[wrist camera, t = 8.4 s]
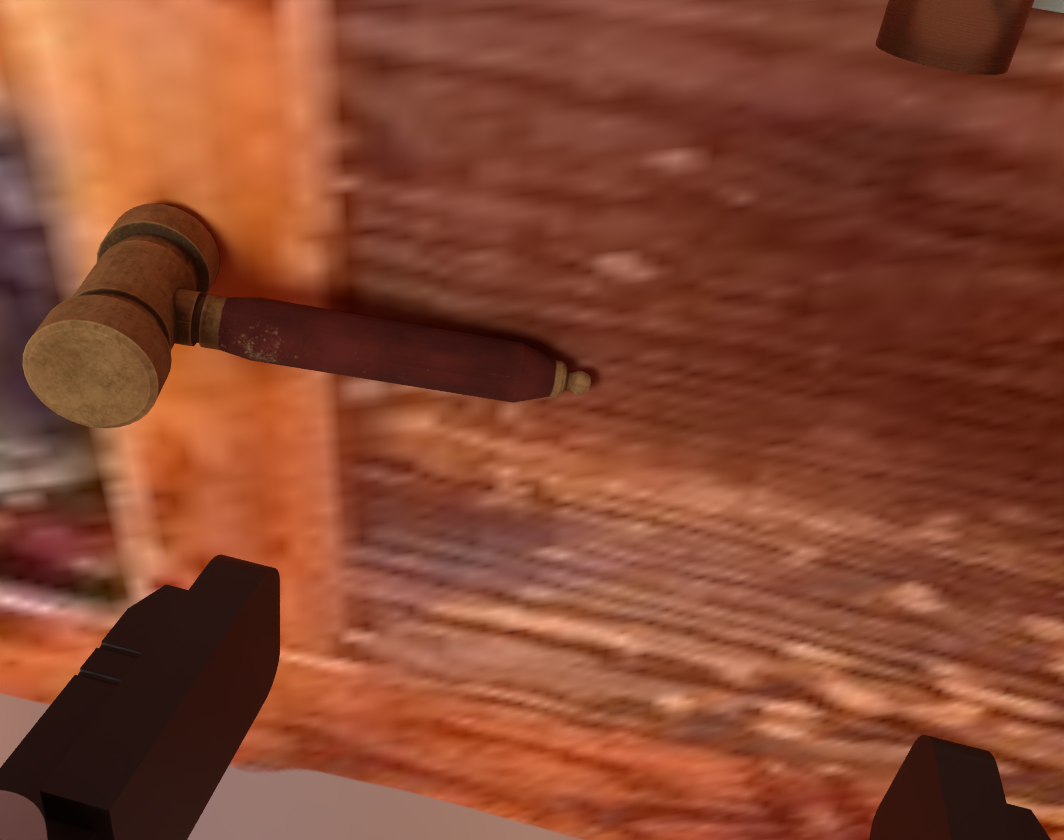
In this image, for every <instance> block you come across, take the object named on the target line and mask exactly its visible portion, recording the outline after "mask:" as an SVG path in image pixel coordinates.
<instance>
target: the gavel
mask: <svg viewBox="0 0 1064 840" xmlns="http://www.w3.org/2000/svg"><path fill="white" fill-rule="evenodd" d="M218 269H219V253H218V249H217V246H216V243H215V241H214V239H213V237H212V236H211V234H210V233H209V231H208V230H207V229H206V228H205V226H204V225H203V224H201V223H200V222H199V221H198V220H197V219H196V218H194V217H193V216H191V215H190V214H188V213H187V212H185V211H183V210H180V209H178V208H176V207H172V206H168V205H163V204H144V205H141V206H137V207H134V208H132V209H130V210H128V211H127V212H125V213H124V214H123V215H122V216H121V217H120V218H119V219H118V220H117V221H116V223H115V224H114V225H113V227H112V228H111V229H110V231H109V232H108V234H107V235H106V236H105V238H104V239H103V241H102V242H101V244H100V247H99V250H98V253H97V263H96V265H95V266H94V267H93V269H92V270H91V272H90V273H89V274H88V276H87V277H86V279H85V280H84V281H83V283H82V284H81V286H80V287H79V288H78V290H77V291H76V293H75V294H74V295H73V297H72V298H70V299H67V300H65V301H63V302H62V303H60V304H58V305H57V306H56V307H55V308H53V309H52V310H51V311H50V312H49V314H48V315H47V317H46V318H45V319H44V321H43V322H42V323H41V325H40V326H39V327H38V329H37V330H36V332H35V333H34V334H33V336H32V337H31V339H30V340H29V342H28V343H27V345H26V347H25V351H24V354H23V369H24V373H25V377H26V379H27V381H28V383H29V386H30V387H31V389H32V390H33V392H34V393H35V394H36V396H37V397H38V398H39V399H40V400H41V401H42V402H43V403H44V404H45V405H46V406H47V407H49V408H50V409H51V410H53V411H54V412H55V413H57V414H59V415H61V416H62V417H64V418H66V419H68V420H70V421H73V422H76V423H78V424H81V425H86V426H90V427H96V428H116V427H122V426H126V425H129V424H132V423H134V422H136V421H138V420H140V419H141V418H142V417H144V416H145V415H146V414H147V413H148V412H149V411H150V410H151V408H152V407H153V406H154V404H155V402H156V399H157V397H158V395H159V393H160V391H161V389H162V387H163V385H164V383H165V381H166V379H167V377H168V374H169V372H170V368H171V349H172V347H173V345H174V343H176V344H182V345H188V346H195V344H196V343H199V344H200V346H201V347H205V348H211V349H217V350H222V351H225V352H228V353H231V354H234V355H237V356H240V357H243V358H246V359H249V360H253V361H259V362H265V363H271V364H277V365H284V366H290V367H296V368H302V369H308V370H315V371H321V372H327V373H333V374H339V375H346V376H352V377H358V378H364V379H370V380H377V381H383V382H389V383H395V384H401V385H408V386H414V387H420V388H426V389H432V390H439V391H445V392H451V393H457V394H463V395H470V396H476V397H482V398H488V399H495V400H501V401H507V402H519V401H525V400H531V399H537V398H543V397H555V398H556V397H559V396H561V394H562V393H563V391H564V390H569V391H571V392H572V393H574V394H578V395H581V394H585V393H587V392H588V390H589V388H590V386H591V380H590V376H589V375H588V374H587V373H585V372H583V371H575V372H568V371H567V367H566V364H565V363H563V362H562V361H558V360H554V359H552V358H550V357H549V356H547V355H545V354H543V353H541V352H539V351H537V350H535V349H534V348H532V347H530V346H528V345H526V344H524V343H522V342H516V341H510V340H504V339H498V338H493V337H487V336H481V335H475V334H469V333H463V332H458V331H452V330H446V329H440V328H434V327H428V326H423V325H417V324H411V323H405V322H399V321H393V320H388V319H382V318H376V317H370V316H364V315H358V314H352V313H347V312H341V311H335V310H329V309H323V308H317V307H312V306H306V305H300V304H294V303H288V302H282V301H277V300H271V299H265V298H228V297H222V296H217V295H211V294H208V293H209V290H210V288H211V286H212V284H213V282H214V280H215V278H216V275H217V273H218Z"/></svg>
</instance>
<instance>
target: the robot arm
mask: <svg viewBox="0 0 1064 840" xmlns="http://www.w3.org/2000/svg"><path fill="white" fill-rule="evenodd" d="M279 655H280V577H279V572H278V570H277V569H276V568H272V567H268V566H264V565H260V564H256V563H252V562H248V561H245V560H241V559H237V558H233V557H229V556H225V555H217V556H216V557H214V558H213V559H212V560H211V561H210V562H209V563H208V565H207V566H206V567H205V569H204V570H203V571H202V573H201V574H200V575H199V577H198V578H197V579H196V581H195V582H194V584H193V585H192V586H191V588H190V589H189V590H185V589H182V588H178V587H174V586H170V585H164V586H163V587H161V588H160V589H158V590H157V591H155V592H153V593H152V594H150V595H149V596H147V597H146V598H144V599H142V600H141V601H139V602H138V603H136V604H135V605H133V606H131V607H130V608H128V609H127V610H126V612H125V613H124V614H123V615H122V617H121V618H120V619H119V620H118V622H117V623H116V624H115V625H114V627H113V628H112V629H111V630H110V632H109V633H108V634H107V635H106V637H105V638H104V639H103V640H102V644H101V646H100V648H96V649H95V650H94V652H93V653H92V654H91V655H90V657H89V658H88V659H87V660H86V662H85V663H84V664H83V665H82V667H81V668H80V672H79V674H78V675H74V677H73V678H72V679H71V680H70V682H69V683H68V684H67V685H66V687H65V688H64V689H63V690H62V692H61V693H60V694H59V695H58V697H57V698H56V699H55V700H54V702H53V703H52V704H51V705H50V707H49V708H48V709H47V710H46V712H45V713H44V714H43V716H42V717H41V718H40V719H39V720H38V722H37V723H36V724H35V725H34V727H33V728H32V729H31V730H30V732H29V733H28V734H27V735H26V737H25V738H24V739H23V740H22V741H21V743H20V744H19V745H18V747H17V748H16V749H15V750H14V752H13V753H12V754H11V755H10V756H9V758H8V759H7V760H6V762H5V763H4V764H3V765H2V767H1V768H0V840H187V839H188V837H189V835H190V833H191V831H192V830H193V828H194V826H195V824H196V823H197V821H198V819H199V817H200V815H201V814H202V812H203V810H204V808H205V807H206V805H207V803H208V801H209V800H210V798H211V796H212V794H213V792H214V791H215V789H216V787H217V785H218V783H219V782H220V780H221V778H222V776H223V775H224V773H225V771H226V769H227V768H228V766H229V764H230V762H231V761H232V759H233V757H234V755H235V753H236V752H237V750H238V748H239V746H240V745H241V743H242V741H243V739H244V737H245V736H246V734H247V732H248V730H249V729H250V727H251V725H252V723H253V721H254V720H255V718H256V716H257V714H258V713H259V711H260V709H261V707H262V705H263V704H264V702H265V700H266V698H267V696H268V694H269V691H270V689H271V686H272V684H273V681H274V678H275V674H276V671H277V667H278V662H279ZM869 840H1051V839H1050V838H1049V836H1048V835H1047V833H1046V832H1045V830H1044V829H1043V827H1042V826H1041V824H1040V823H1039V821H1038V820H1037V818H1036V817H1035V815H1034V814H1033V812H1032V811H1031V810H1030V809H1026V808H1022V807H1019V806H1015V805H1011V804H1007V803H1006V799H1005V795H1004V791H1003V787H1002V783H1001V779H1000V775H999V771H998V767H997V764H996V761H995V759H994V757H993V755H992V754H991V753H990V752H988V751H986V750H982V749H978V748H974V747H970V746H966V745H962V744H958V743H955V742H951V741H947V740H943V739H939V738H935V737H931V736H927V735H922V736H920V737H919V738H918V739H917V740H916V741H915V743H914V744H913V746H912V748H911V749H910V751H909V753H908V755H907V757H906V758H905V760H904V762H903V764H902V766H901V767H900V769H899V771H898V773H897V775H896V776H895V778H894V780H893V782H892V784H891V785H890V787H889V789H888V791H887V793H886V794H885V796H884V798H883V800H882V802H881V803H880V805H879V807H878V809H877V811H876V814H875V816H874V820H873V823H872V828H871V833H870V839H869Z"/></svg>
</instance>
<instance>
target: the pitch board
mask: <svg viewBox="0 0 1064 840" xmlns="http://www.w3.org/2000/svg"><path fill="white" fill-rule="evenodd" d="M1032 8H1037V9H1043V10H1048V11H1054V12H1060V13H1064V0H1035V1H1034V3H1033V6H1032Z"/></svg>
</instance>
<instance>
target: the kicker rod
mask: <svg viewBox="0 0 1064 840" xmlns="http://www.w3.org/2000/svg"><path fill="white" fill-rule="evenodd" d="M1034 1H1035V0H889V2H888V5H887V8H886V11H885V14H884V18H883V21H882V24H881V27H880V31H879V34H878V37H877V40H876V46H877V47H878V48H879V49H881V50H883V51H885V52H887V53H889V54H891V55H894V56H897V57H899V58H902V59H905V60H909V61H912V62H915V63H919V64H923V65H927V66H931V67H936V68H940V69H946V70H951V71H957V72H964V73H972V74H983V75H998V74H1004V73H1006V72H1007V70H1008V68H1009V65H1010V63H1011V60H1012V57H1013V55H1014V52H1015V50H1016V47H1017V44H1018V42H1019V39H1020V37H1021V34H1022V32H1023V29H1024V26H1025V24H1026V21H1027V19H1028V16H1029V14H1030V11H1031V8H1032V6H1033V3H1034Z"/></svg>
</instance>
